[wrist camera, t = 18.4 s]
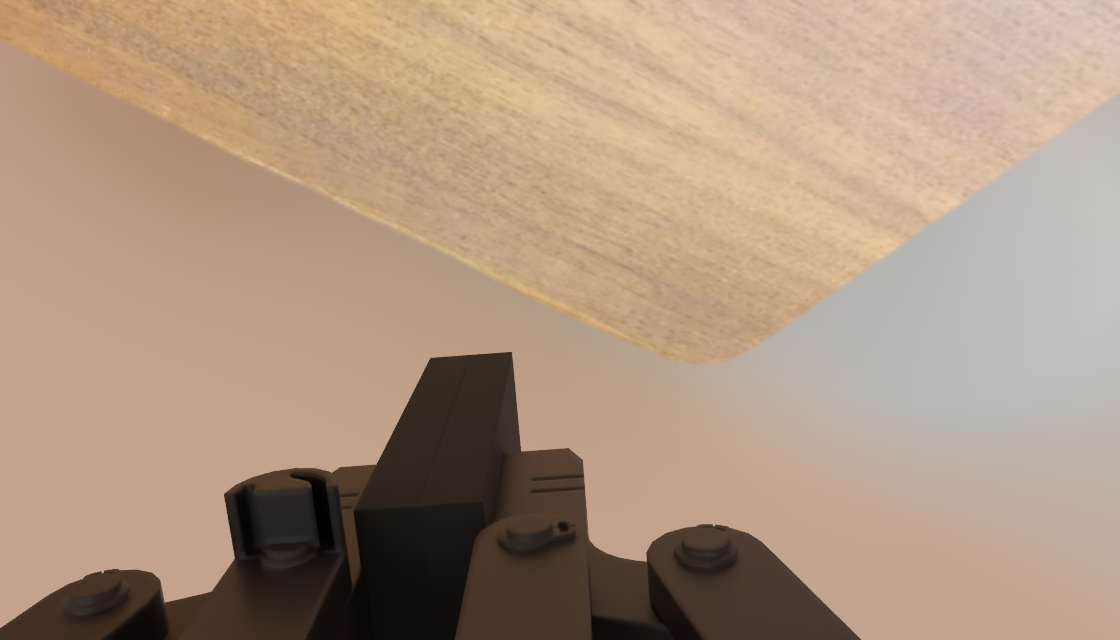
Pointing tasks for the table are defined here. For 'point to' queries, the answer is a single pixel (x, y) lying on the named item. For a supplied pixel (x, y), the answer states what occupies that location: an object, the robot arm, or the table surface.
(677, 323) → the table surface
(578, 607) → the robot arm
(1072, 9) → the table surface
